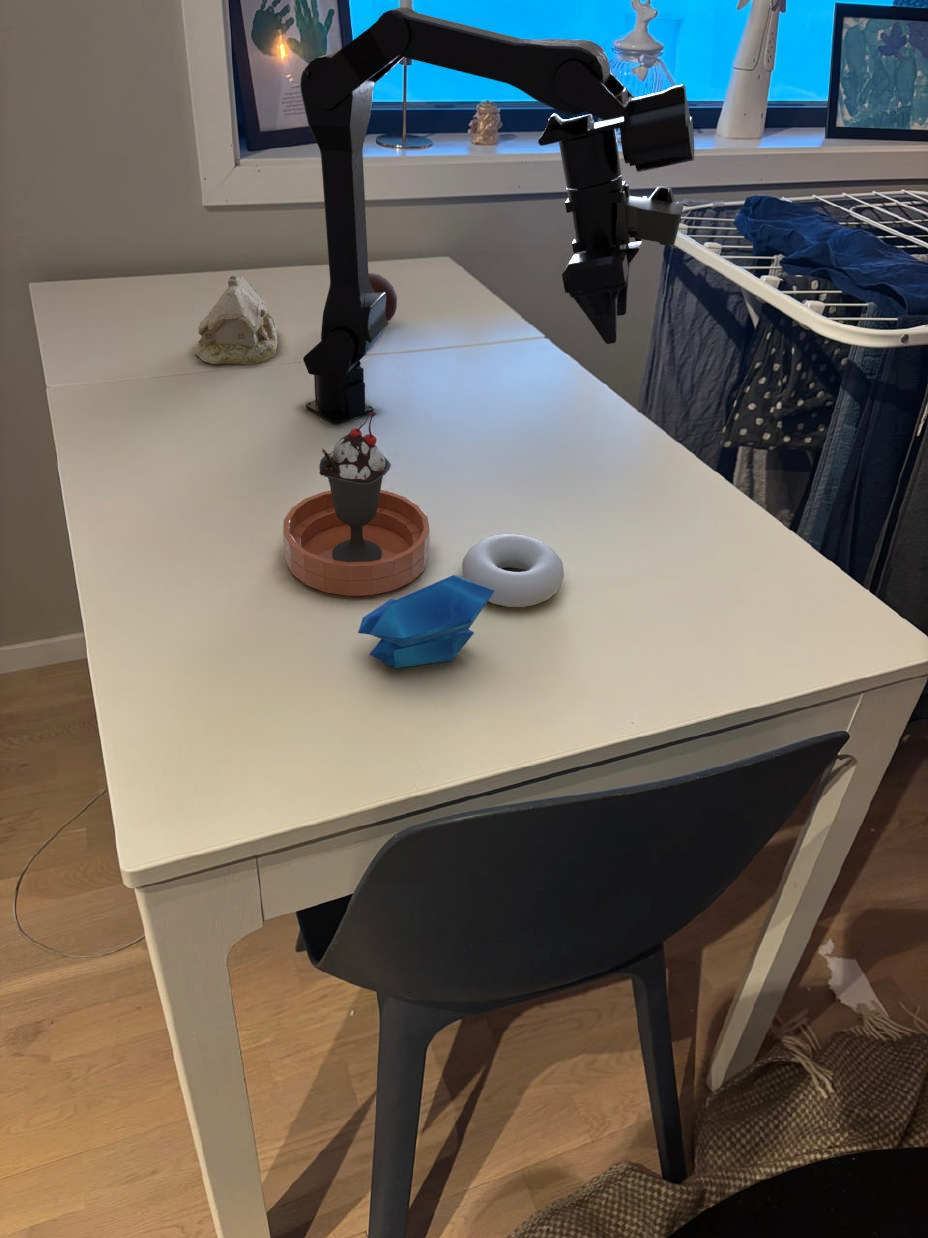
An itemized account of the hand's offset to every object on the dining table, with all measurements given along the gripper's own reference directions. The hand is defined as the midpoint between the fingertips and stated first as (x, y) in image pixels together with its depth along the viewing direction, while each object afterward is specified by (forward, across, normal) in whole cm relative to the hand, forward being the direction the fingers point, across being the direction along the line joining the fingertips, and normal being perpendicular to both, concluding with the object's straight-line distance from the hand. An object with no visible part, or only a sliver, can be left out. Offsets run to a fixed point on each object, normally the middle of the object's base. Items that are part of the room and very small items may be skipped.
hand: (616, 328), depth 105 cm
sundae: (+9, -31, +24) cm, 40 cm away
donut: (+14, -30, +9) cm, 35 cm away
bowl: (+9, -31, +24) cm, 40 cm away
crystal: (+12, -44, +13) cm, 47 cm away
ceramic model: (-1, +14, +56) cm, 58 cm away
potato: (+3, +30, +42) cm, 52 cm away
